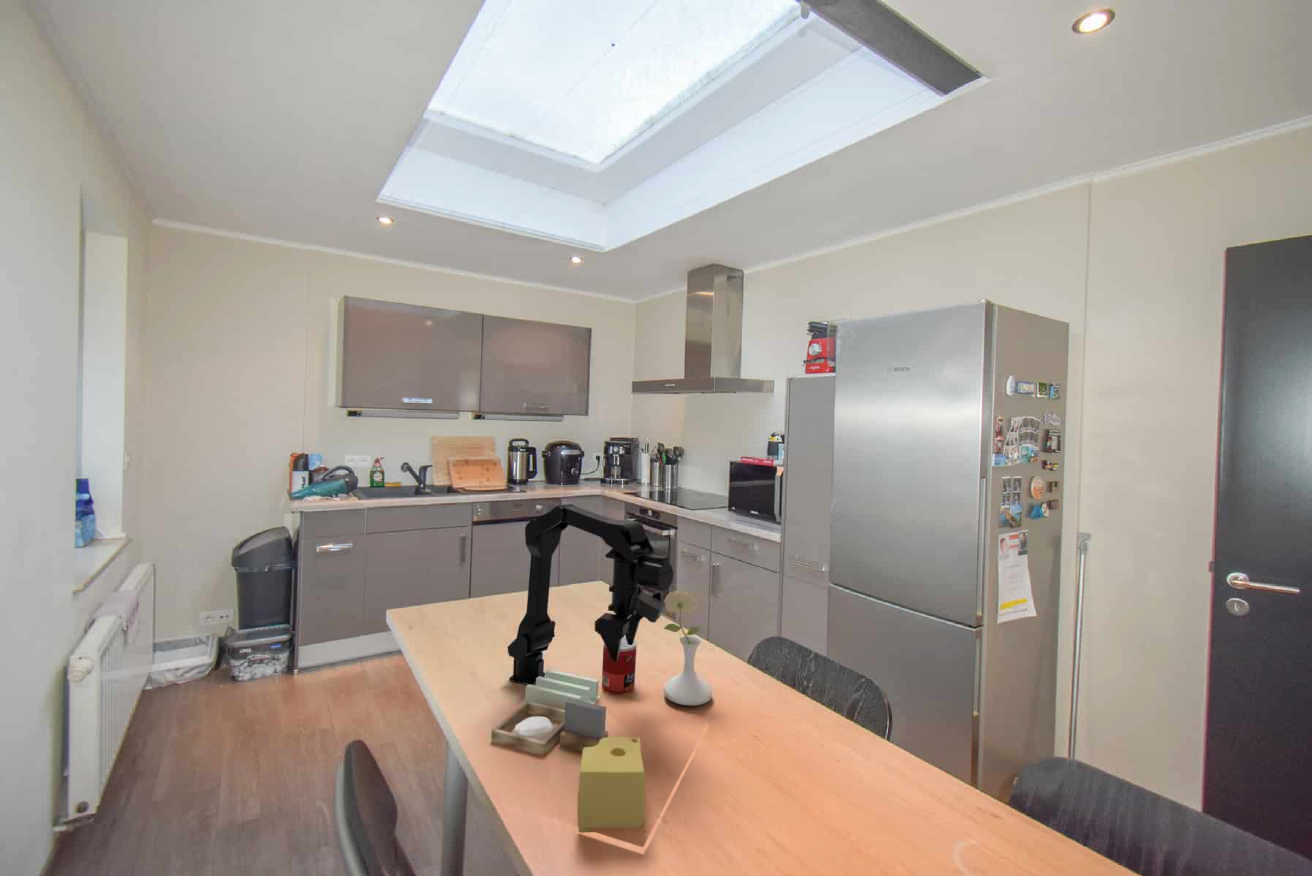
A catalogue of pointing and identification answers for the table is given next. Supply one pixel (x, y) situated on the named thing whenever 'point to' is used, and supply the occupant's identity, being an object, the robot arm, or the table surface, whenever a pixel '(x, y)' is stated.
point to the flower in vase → (686, 656)
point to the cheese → (612, 785)
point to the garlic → (534, 728)
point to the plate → (585, 719)
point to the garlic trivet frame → (526, 743)
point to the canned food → (619, 669)
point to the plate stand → (576, 742)
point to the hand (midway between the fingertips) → (622, 652)
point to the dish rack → (562, 689)
